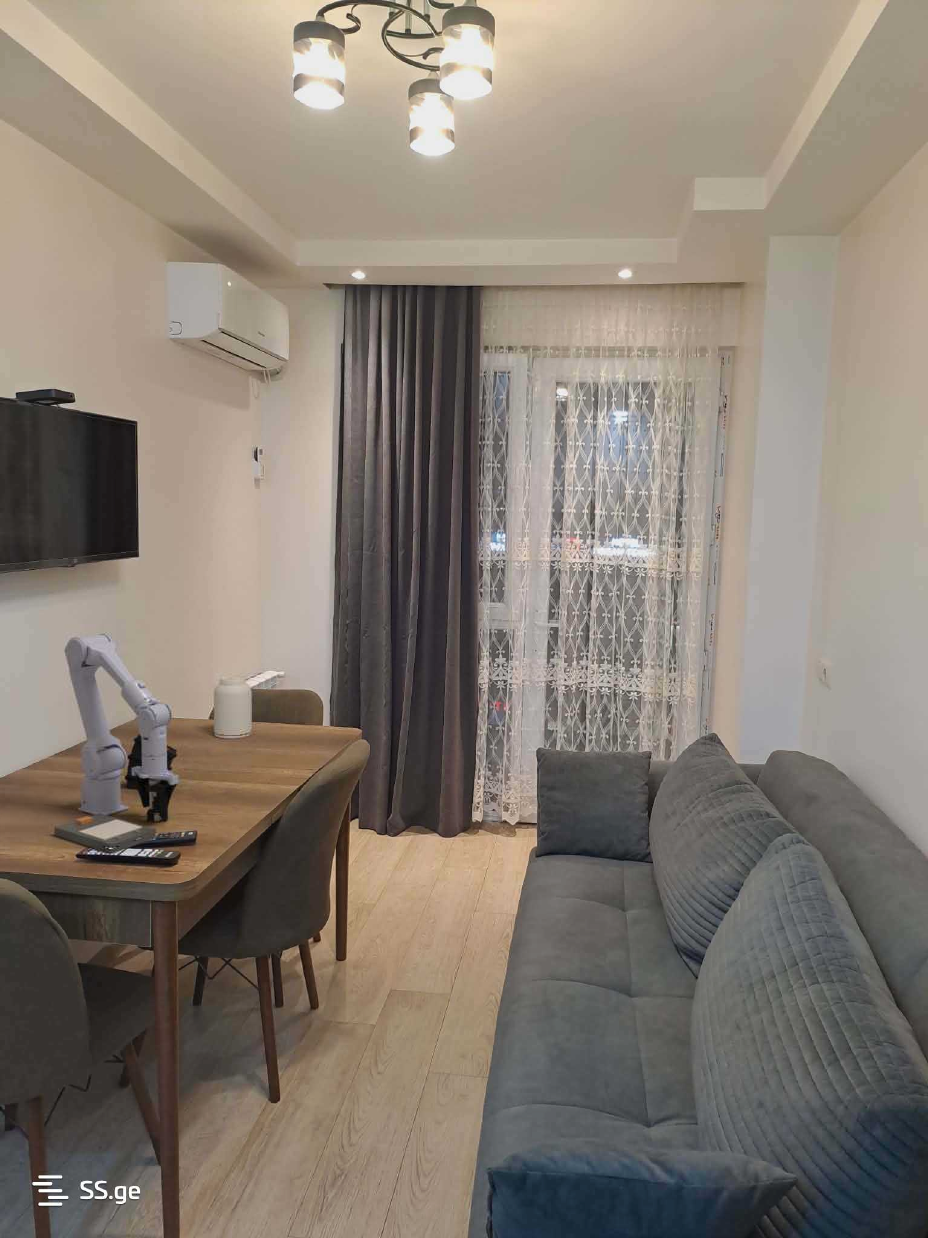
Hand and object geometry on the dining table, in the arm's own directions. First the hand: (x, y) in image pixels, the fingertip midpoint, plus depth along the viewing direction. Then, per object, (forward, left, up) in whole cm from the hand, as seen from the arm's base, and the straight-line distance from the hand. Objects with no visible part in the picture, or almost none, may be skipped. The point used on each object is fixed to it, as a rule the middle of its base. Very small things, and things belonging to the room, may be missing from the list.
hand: (155, 808), depth 215 cm
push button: (0, 0, -3) cm, 3 cm away
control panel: (0, -14, -3) cm, 14 cm away
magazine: (-22, +17, -3) cm, 28 cm away
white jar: (-50, +74, -3) cm, 89 cm away
